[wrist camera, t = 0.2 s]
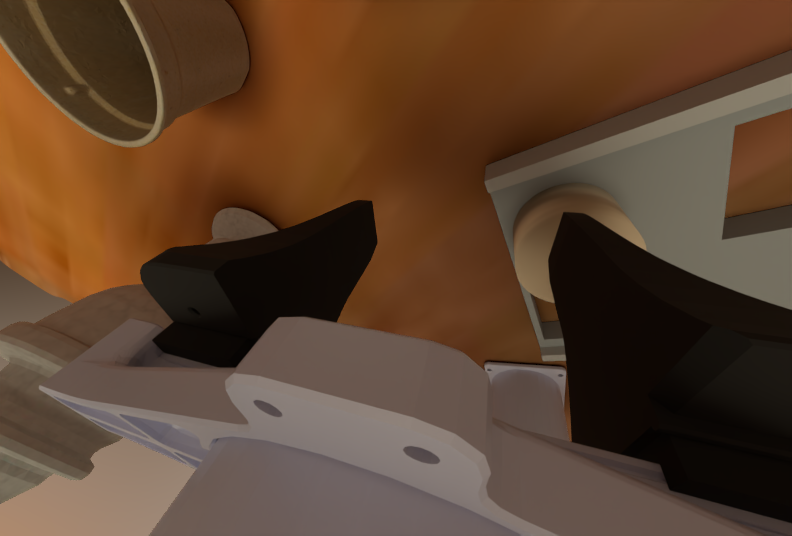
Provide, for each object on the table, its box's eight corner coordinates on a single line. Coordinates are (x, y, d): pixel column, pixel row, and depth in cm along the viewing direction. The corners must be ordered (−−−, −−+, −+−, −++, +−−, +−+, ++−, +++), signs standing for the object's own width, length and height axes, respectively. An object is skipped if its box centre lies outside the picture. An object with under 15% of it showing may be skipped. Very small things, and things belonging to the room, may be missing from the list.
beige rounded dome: (524, 272, 21) (527, 310, 18) (502, 201, 18) (503, 233, 15) (623, 254, 18) (648, 296, 15) (616, 166, 15) (645, 197, 12)
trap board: (539, 335, 27) (545, 377, 24) (486, 165, 19) (482, 192, 16) (985, 301, 16) (1116, 371, 12) (1320, -151, 8) (1953, -300, 4)
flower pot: (200, -114, 15) (-38, -237, 8) (299, 85, 19) (197, 107, 13) (121, -8, 19) (-76, -34, 12) (218, 134, 23) (111, 169, 17)
